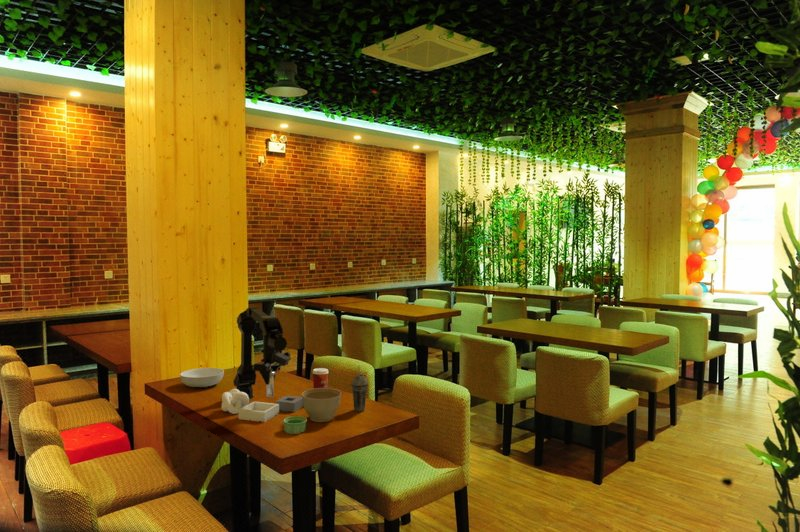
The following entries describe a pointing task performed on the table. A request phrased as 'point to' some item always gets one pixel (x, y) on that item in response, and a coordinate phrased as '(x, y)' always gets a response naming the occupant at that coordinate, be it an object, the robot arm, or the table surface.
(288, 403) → the block
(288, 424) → the ramekin
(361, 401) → the beverage cup
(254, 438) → the table surface
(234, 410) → the white knot sculpture
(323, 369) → the paper cup
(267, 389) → the pin
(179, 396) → the table surface
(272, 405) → the tray
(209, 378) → the serving bowl
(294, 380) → the table surface
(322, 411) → the planter bowl
